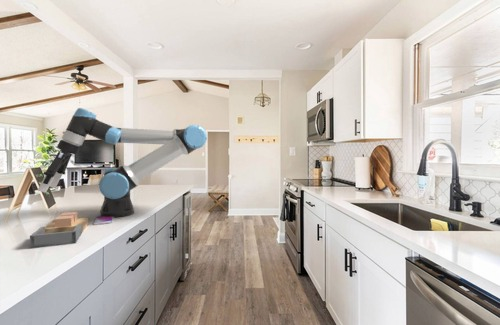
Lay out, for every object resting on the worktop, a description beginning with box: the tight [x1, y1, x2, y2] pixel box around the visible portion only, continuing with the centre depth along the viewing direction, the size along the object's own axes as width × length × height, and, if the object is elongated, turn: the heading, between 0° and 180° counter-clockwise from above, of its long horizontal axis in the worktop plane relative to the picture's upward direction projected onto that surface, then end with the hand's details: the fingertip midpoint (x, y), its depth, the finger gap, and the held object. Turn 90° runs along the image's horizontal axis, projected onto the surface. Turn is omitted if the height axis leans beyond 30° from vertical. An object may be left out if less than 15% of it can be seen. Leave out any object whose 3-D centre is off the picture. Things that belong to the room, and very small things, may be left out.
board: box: [44, 216, 89, 234], centre depth 97 cm, size 12×14×3 cm
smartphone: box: [92, 216, 114, 226], centre depth 113 cm, size 7×1×15 cm
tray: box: [29, 223, 83, 249], centre depth 86 cm, size 12×11×4 cm
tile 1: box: [54, 215, 74, 227], centre depth 94 cm, size 5×5×3 cm
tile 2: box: [59, 211, 78, 222], centre depth 100 cm, size 5×5×3 cm
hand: (47, 189), depth 103 cm, fingers open, 13 cm apart
